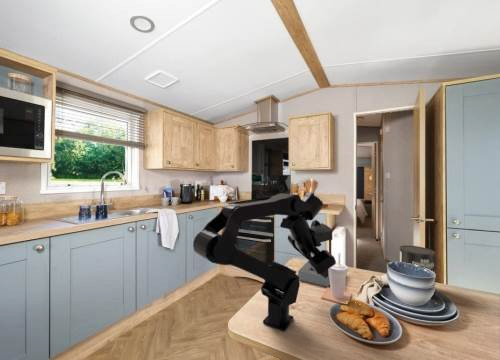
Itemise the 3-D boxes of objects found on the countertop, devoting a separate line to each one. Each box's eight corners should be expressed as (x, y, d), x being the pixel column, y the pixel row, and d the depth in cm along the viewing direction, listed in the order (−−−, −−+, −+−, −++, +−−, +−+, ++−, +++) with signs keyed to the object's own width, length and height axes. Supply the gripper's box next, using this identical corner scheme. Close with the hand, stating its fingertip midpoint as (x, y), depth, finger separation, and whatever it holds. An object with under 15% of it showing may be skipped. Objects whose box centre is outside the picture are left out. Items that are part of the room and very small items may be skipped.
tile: (347, 305, 70) (347, 304, 70) (321, 298, 74) (321, 297, 74) (351, 294, 77) (351, 293, 77) (327, 288, 81) (327, 287, 81)
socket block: (336, 289, 81) (336, 279, 80) (298, 280, 88) (298, 271, 88) (343, 275, 93) (343, 266, 92) (308, 268, 100) (309, 259, 100)
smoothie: (347, 302, 71) (348, 257, 71) (326, 298, 74) (326, 254, 74) (347, 293, 77) (348, 251, 77) (327, 289, 80) (327, 249, 79)
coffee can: (442, 298, 75) (443, 255, 75) (407, 295, 77) (408, 253, 77) (424, 284, 85) (425, 246, 85) (394, 281, 87) (394, 244, 87)
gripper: (343, 229, 60) (359, 271, 65) (307, 205, 78) (322, 240, 83) (307, 252, 59) (327, 293, 64) (279, 222, 76) (296, 257, 81)
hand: (318, 267), depth 73 cm, fingers open, 9 cm apart
